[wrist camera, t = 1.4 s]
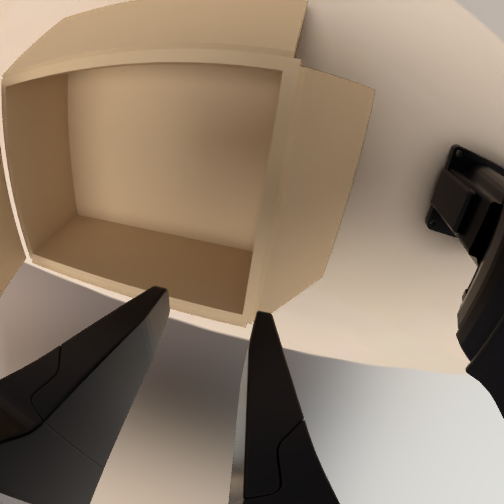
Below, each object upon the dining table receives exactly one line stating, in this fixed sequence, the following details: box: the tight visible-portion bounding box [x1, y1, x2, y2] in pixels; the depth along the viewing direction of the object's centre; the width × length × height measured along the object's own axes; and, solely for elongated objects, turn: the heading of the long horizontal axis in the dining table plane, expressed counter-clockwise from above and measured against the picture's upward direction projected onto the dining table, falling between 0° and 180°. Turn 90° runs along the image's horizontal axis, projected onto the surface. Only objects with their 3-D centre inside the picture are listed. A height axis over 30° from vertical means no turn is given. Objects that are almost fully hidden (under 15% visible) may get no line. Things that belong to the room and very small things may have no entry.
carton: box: [2, 0, 375, 327], centre depth 16 cm, size 22×22×7 cm
